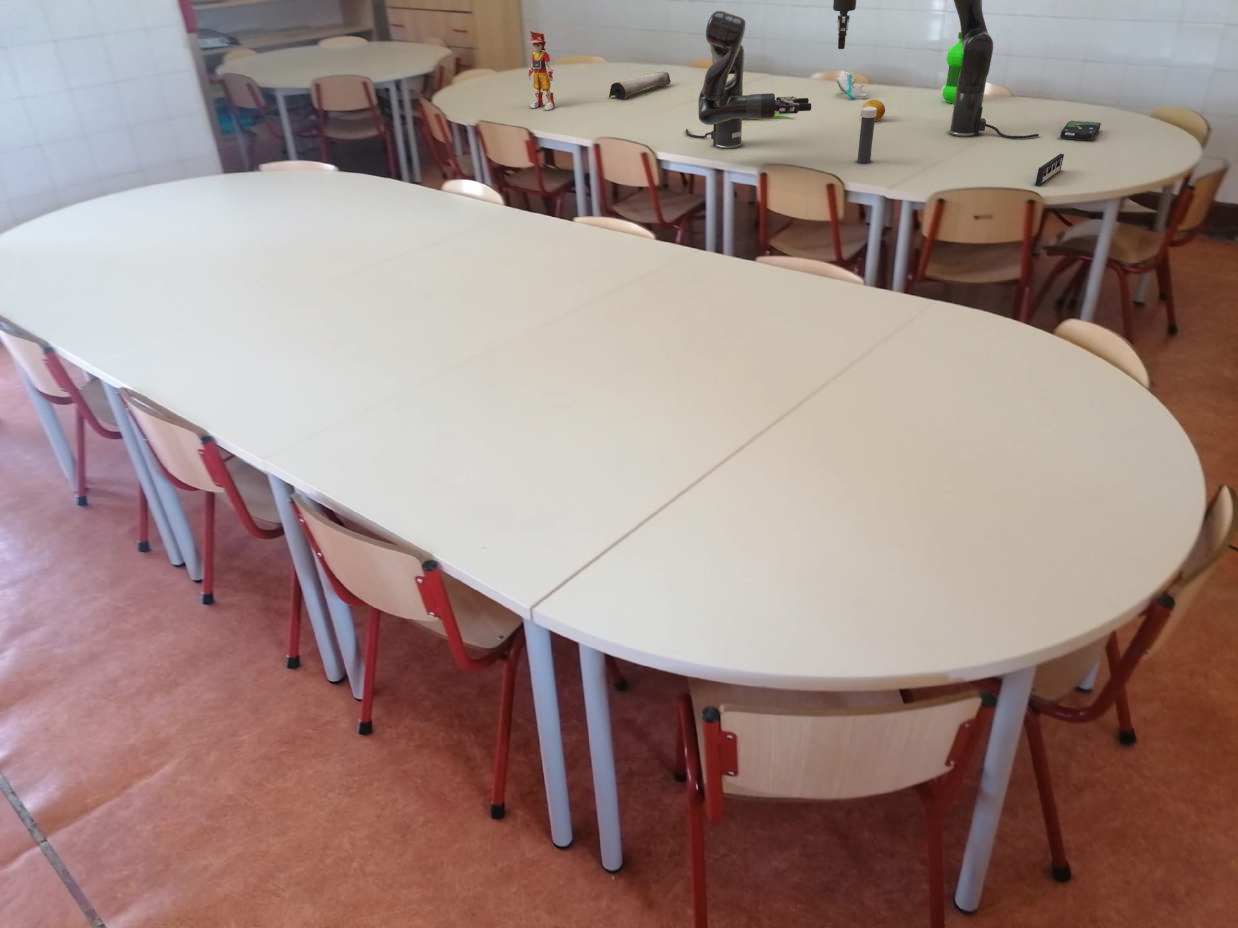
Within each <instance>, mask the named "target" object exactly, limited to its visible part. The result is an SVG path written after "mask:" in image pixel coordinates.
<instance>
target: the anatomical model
mask: <svg viewBox="0 0 1238 928" xmlns="http://www.w3.org/2000/svg"><path fill="white" fill-rule="evenodd" d="M852 78H853V75H852V73H850V71H847V70H846V71H845V72H844V74H843V75H841V76H838V77H837V78H836V83H837V85H838V87H839V90H840V91H841V92H842V93H846V95H847V98H849V100H855V99H858V98H859V99H860V98H867V97H868V94H867V93H863V92H862V89H863V87H865V85H864V84H860V85H858V86H856V87H855V86H854V84H855V82H856V81H857V79H856V78H854V79H852Z"/></svg>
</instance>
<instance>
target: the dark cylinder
mask: <svg viewBox="0 0 1238 928" xmlns="http://www.w3.org/2000/svg"><path fill="white" fill-rule="evenodd" d="M860 120H861V122H860V130H859V131H860V132H859V140H858V141H859V142H858V151H857V153H858V154H857V161H856V162H857V163H858V164H864V165H865V164H869V163H871V158H872V149H873V139H874V131H875V122H876V121H875V117H873V118H864V117H861V119H860Z"/></svg>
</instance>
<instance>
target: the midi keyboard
mask: <svg viewBox="0 0 1238 928" xmlns="http://www.w3.org/2000/svg"><path fill="white" fill-rule="evenodd" d="M1064 157H1065V153H1059V154H1058V155H1056V156H1055V157H1052V159H1051V160H1049V161H1047V162H1045V164H1042V165H1041V166H1039V167H1038V169H1037V175H1036V179H1035V186H1040V185H1042V183H1044V182H1045V181H1047V180H1048V179H1049V178H1051V177H1052V176H1054V175H1055V174H1056V173H1058V172H1060V171H1061V170H1062V165H1063V161H1064Z"/></svg>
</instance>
